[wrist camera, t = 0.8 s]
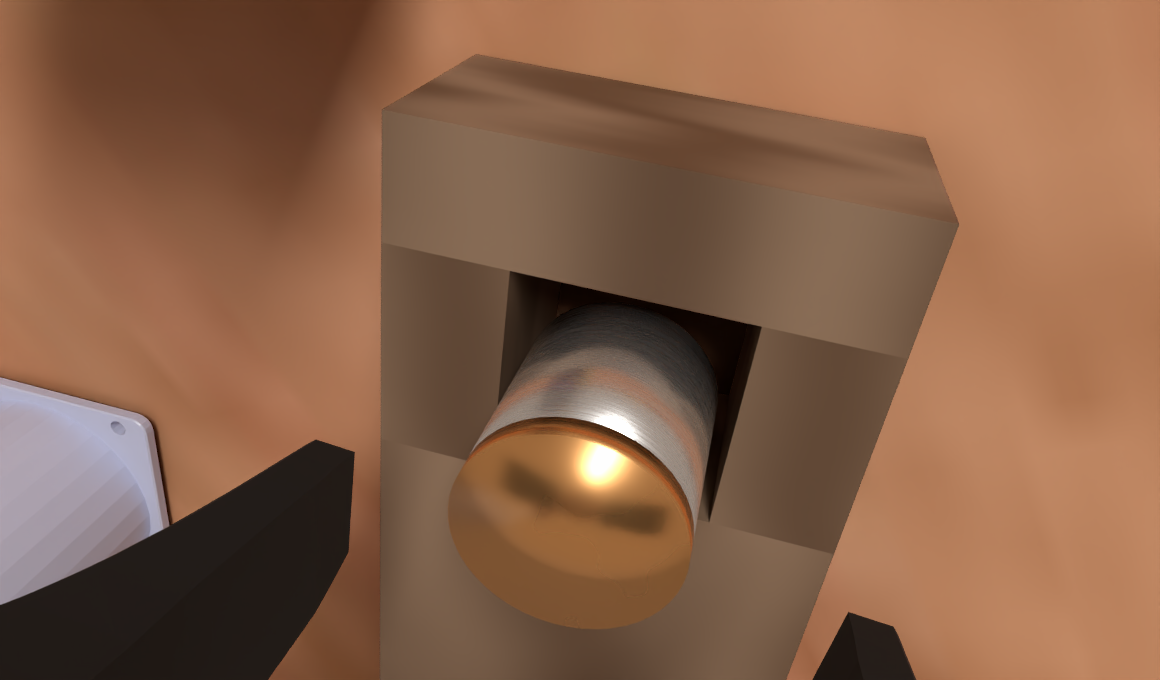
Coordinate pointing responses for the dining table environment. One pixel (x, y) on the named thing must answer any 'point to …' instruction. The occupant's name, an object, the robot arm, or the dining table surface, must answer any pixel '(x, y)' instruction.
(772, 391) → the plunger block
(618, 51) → the dining table surface
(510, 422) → the peg
